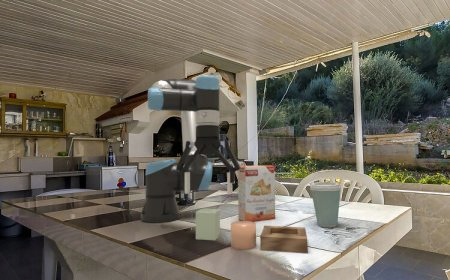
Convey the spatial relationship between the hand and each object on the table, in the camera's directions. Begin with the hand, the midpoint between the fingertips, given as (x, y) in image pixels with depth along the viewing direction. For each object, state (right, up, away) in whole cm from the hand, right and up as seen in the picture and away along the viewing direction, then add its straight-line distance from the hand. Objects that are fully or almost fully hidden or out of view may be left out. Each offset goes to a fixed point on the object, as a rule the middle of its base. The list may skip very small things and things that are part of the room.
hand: (208, 193), depth 89 cm
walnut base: (+22, -13, -9) cm, 27 cm away
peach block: (+10, -13, -9) cm, 19 cm away
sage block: (0, -13, -1) cm, 13 cm away
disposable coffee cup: (+41, -14, +12) cm, 45 cm away
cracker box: (+18, -15, +23) cm, 33 cm away
